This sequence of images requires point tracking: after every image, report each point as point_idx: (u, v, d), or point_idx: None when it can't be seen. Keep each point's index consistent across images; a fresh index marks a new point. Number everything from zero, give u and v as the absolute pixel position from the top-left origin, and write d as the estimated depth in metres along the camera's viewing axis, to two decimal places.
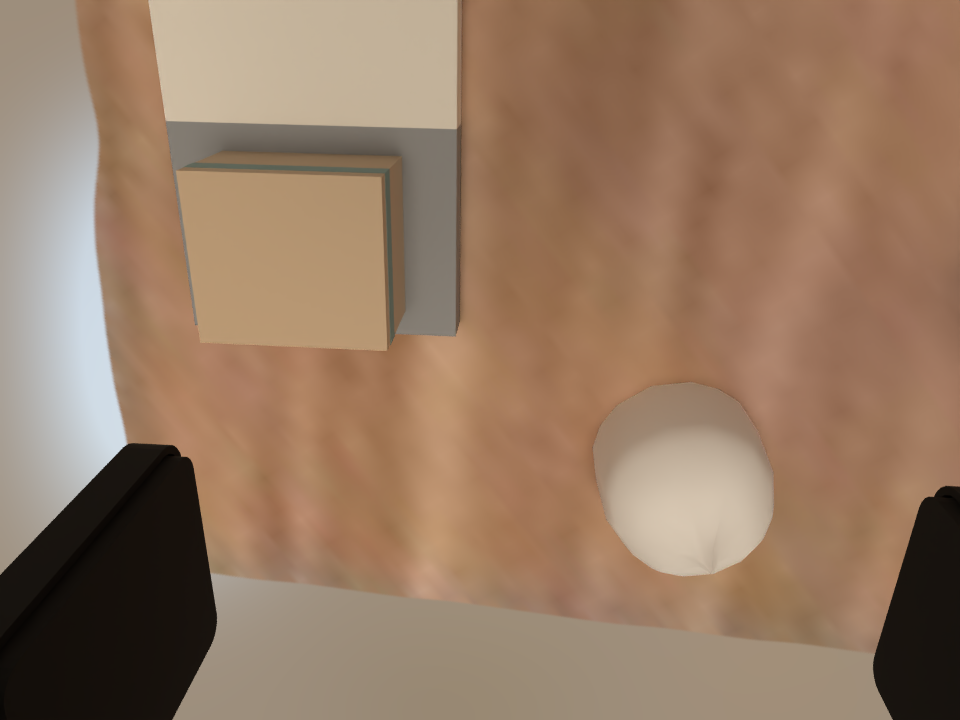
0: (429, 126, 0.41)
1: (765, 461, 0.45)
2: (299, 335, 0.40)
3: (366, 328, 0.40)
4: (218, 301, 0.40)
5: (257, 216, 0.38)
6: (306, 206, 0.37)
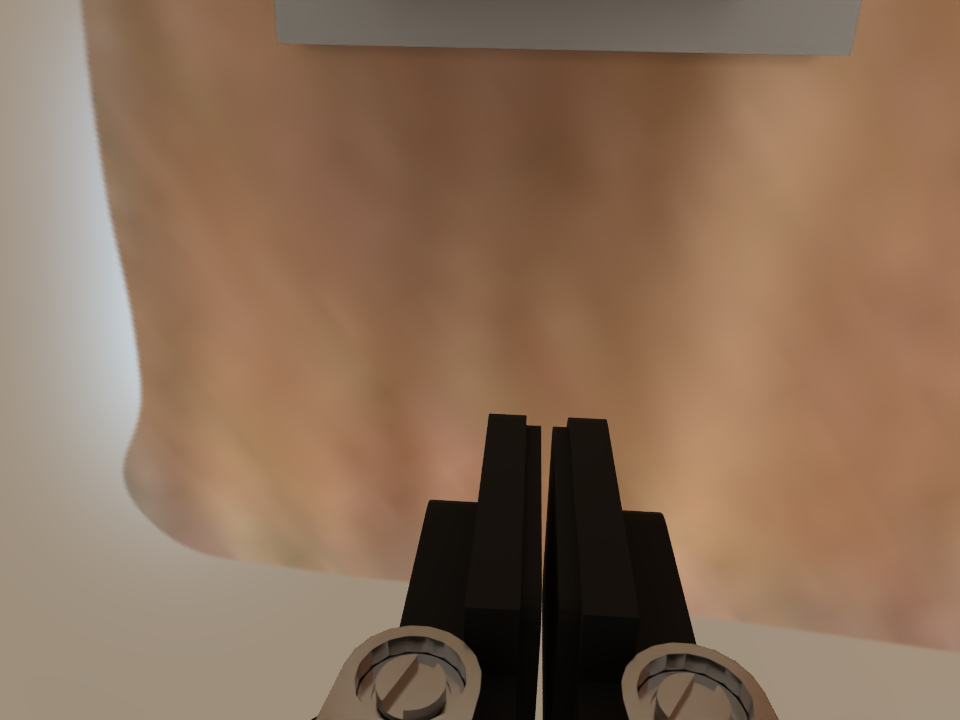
0: None
1: None
2: None
3: None
4: None
5: None
6: None
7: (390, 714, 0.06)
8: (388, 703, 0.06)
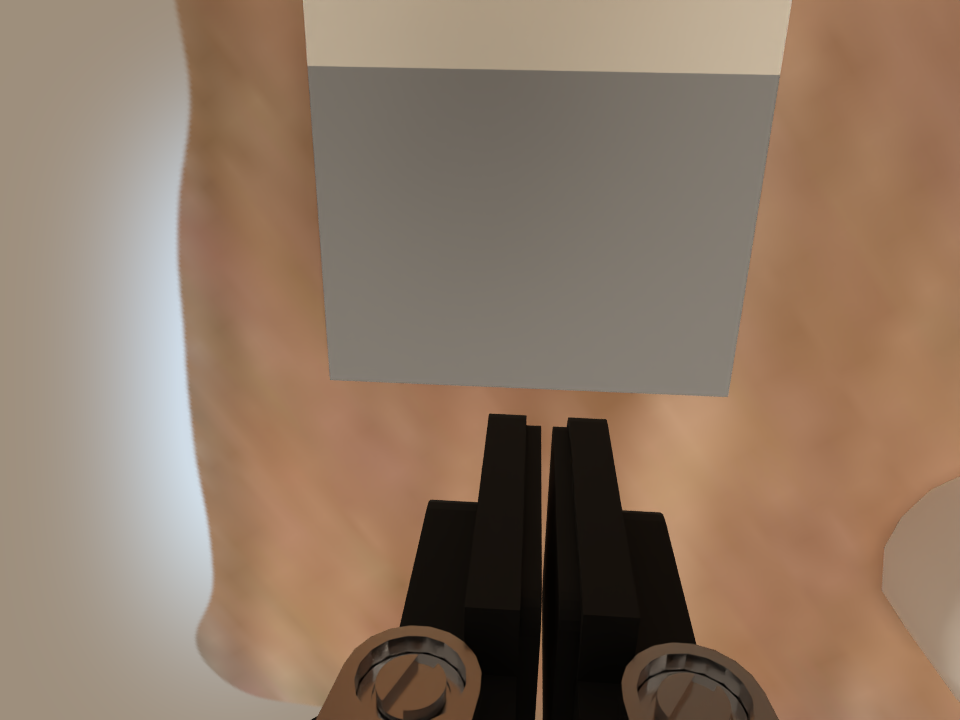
0: (735, 70, 0.26)
1: None
2: None
3: None
4: None
5: None
6: None
7: (390, 714, 0.06)
8: (388, 703, 0.06)
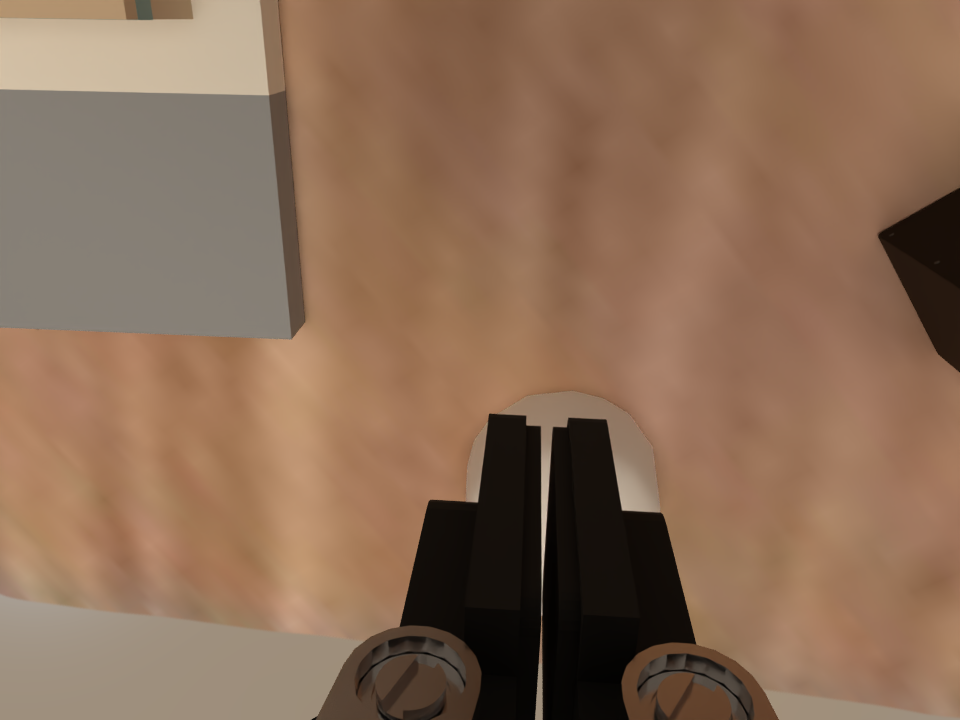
0: (236, 92, 0.35)
1: (648, 483, 0.39)
2: None
3: None
4: None
5: None
6: None
7: (390, 714, 0.06)
8: (388, 703, 0.06)
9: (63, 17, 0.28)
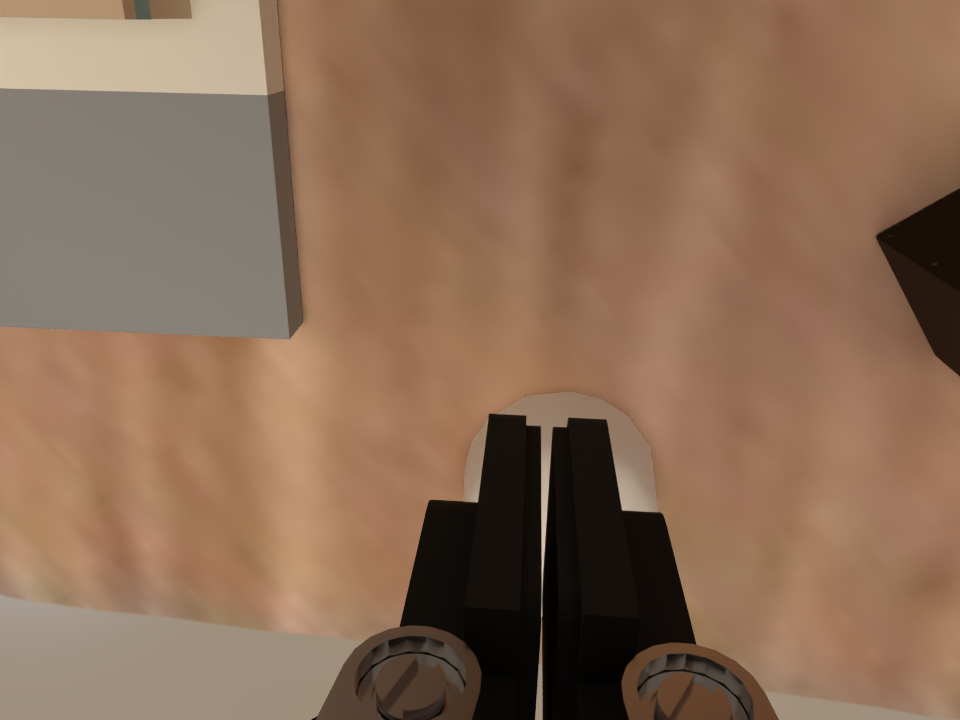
0: (235, 92, 0.35)
1: (646, 484, 0.39)
2: None
3: None
4: None
5: None
6: None
7: (390, 714, 0.06)
8: (388, 703, 0.06)
9: (61, 16, 0.28)
